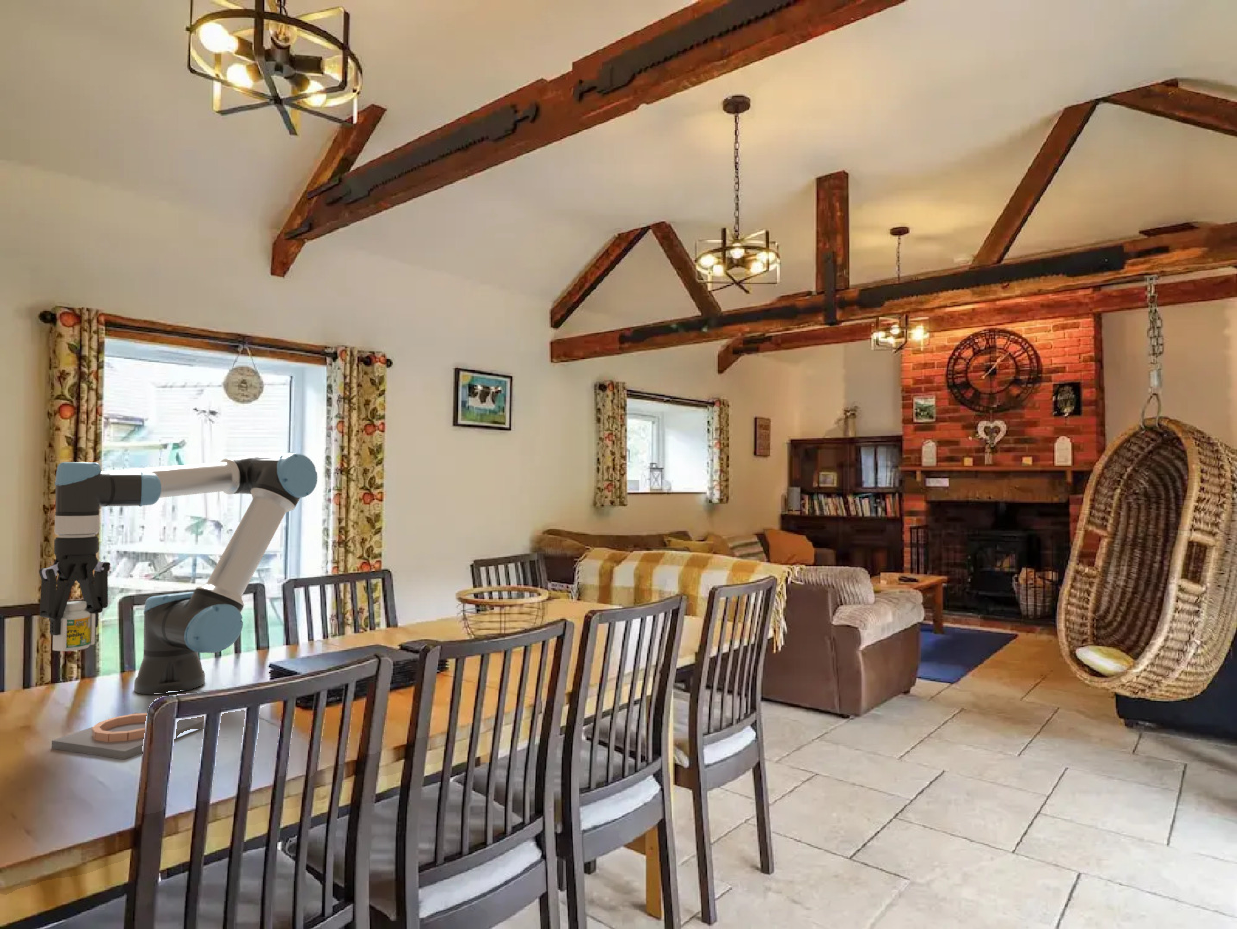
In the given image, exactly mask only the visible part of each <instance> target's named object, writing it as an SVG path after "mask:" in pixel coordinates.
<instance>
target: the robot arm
mask: <svg viewBox="0 0 1237 929" xmlns="http://www.w3.org/2000/svg"><path fill="white" fill-rule="evenodd" d="M316 470H317V469H316V466H315V463H314V462H313V461H312V460H311V459H310V458H309V457H308V456H306V455H305V454H301V453H298V452H297V453H295V452H293V451H292V452H291V451H288V452H287V451H286V452H262V453H261V452H260V453H255V454H250V455H245V456H244V455H243V456H237V457H230V458H224V459H222V460H221V461H220V462H215V463H214V462H212V463H211V462H209V463H199V464H184V465H182V464H181V465H171V466H170V465H167V466H155V467H144V468H143V467H142V468H141V467H140V468H130V469H129V468H128V469H127V468H126V469H115V470H113V469H112V470H102V469H101V464H100V463H98V462H86V461H85V462H80V461H78V462H77V461H76V462H75V461H64V462H61V463H59V464H58V465H57V467H56V472H55V473H56V474H55V482H54V486H55V513H54V534H55V535H56V536H57V537H55V538H54V539H53V540H54V541H53V554H54V555H55V560H54V562H53V565H51V566H49V567H45V568H43V567H42V568H40V569H39V570H38V572H39V576H40V579H41V581H40V582H41V583H40V584H41V586H40V600H39V601H40V602H39V614H38V615H39V617H41V618H46V619H49V634H50V635H51V636H52V651H55V652H56V651H57V652H67V651H66V637H67V619H66V618H63V615H64V611H65V608H66V605H67V602H69V601H68V600H69V597H70V593H71V590H72V587H73V586H75V583H76V582H77V583H78V584H79V587H80V590H81V591H80V592H81V595H82V599H83V600H82V601H86V606H87V607H86V609H85V611H88V612H89V613H90V646H93V645H95V644H96V643H95V642H96V628H97V627H98V626H99V614H100V613H102V612H103V611H104V609H106V608H108V606H109V590H108V589H109V580H108V578H109V575H108V574H109V572H110V571H109V570H110V567H111V563H110V562H107V561H99V560H98V557H97V554H98V552H99V539H100V538H99V537H98V536H97V534H98V533H100V508H101V507H105V508H106V507H136V506H137V507H142V506H143V507H144V506H152V505H155V504H156V503H157V502H158V501H159V499H160V498H169V497H170V498H171V497H180V496H181V497H182V496H190V495H199V494H200V495H202V494H207V493H208V494H209V493H220V492H223V493H224V494H227V495H234V494H235V495H238V494H241V495H242V494H245V495H251V496H252V500H251V502H250V504H249V506H248V507H247V509H246V511H245V513H244V515H243V516H242V519H241V520H240V522H239V524H238V526H237V527H236V529H235V531H234V533H233V535H232V536H231V538H230V540H229V542H228V543H227V545H226V547H225V549H224V551H223V553H222V555H221V556H220V558H219V560H218V562H217V563H216V566H214V569H213V571H212V573H211V574H210V576H209V579H208V580H207V582H206V583H205V584H202V585H200V586H197V587H195V589H194V591H187V592H178V593H177V592H176V593H168V594H161V595H153V596H150V597H148V598H147V599H146V600H145V602H144V609H143V658H142V661H141V664H140V667H139V670H138V673H137V676H136V677H135V678H134V683H133V684H134V686H133V690H134V692H135V693H138V694H140V695H141V694H142V695H155V694H154V693H166V692H168V691H180V690H187V691H190V690H193V688H194V689H197V688H199V687H198V686H200V687H201V686H203V685H204V684H205V683H206V673H205V671H204V670H203V664H202V661H201V659H200V655H199V653H201V654H202V653H203V654H206V653H207V654H215V653H218V652H219V653H220V652H221V651H225V650H226V649H228V648H230V647H231V646H232V645H233V644H235V642H236V641H237V640H238V638H239V636H240V635H241V633H242V631H243V626H244V621H243V620H242V619H243V615H242V610H243V608H244V607H245V604H244V600H243V599H242V598H243V594H244V593H245V591H246V589H247V587H248V585H249V583H250V582H251V579H252V577H253V575H254V574H255V572H256V570H257V568H258V566H259V564H260V562H261V560H262V559H263V557H264V555H265V552H266V551H267V549H268V548H269V545H270V543H271V541H272V540H273V538H274V535H275V534H276V532H277V530H278V528H279V526H280V525H281V523H282V520H283V519H284V516H285V514H286V513H288V512H291V511H294V510H296V509H295V508H296V506H297V504H298V503H299V501H300V499H301V498H305V497H307V496H309V495H311V494H312V493H313V492H314V490H315V488H316V486H317V483H318V472H317V471H316ZM93 571H94V573H93ZM202 684H203V685H202ZM196 687H197V688H196Z"/></svg>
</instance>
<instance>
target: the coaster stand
mask: <svg viewBox="0 0 1237 929" xmlns="http://www.w3.org/2000/svg"><path fill="white" fill-rule="evenodd" d="M147 713H148V712H144V713H142V712H133V713H130V714H126V715H120V716H115V717H112V718H108V719H105V720H102V721H99V722H98V723H96V724H95V725H94V726H91V727H87V728H86V729H83V730H79V731H76V732H74V733H71V734H67V735H64V736H61V737H59V738H55V739H53V740H51V749H53V750H59V751H64V752H65V751H66V752H72V751H73V752H74V753H81V754H86V755H93V756H101V757H107V758H113V759H117V760H118V759H119V760H126V759H129V758H132V757H135V756H137V755H139V754H140V755H141V754H142V753H143V752H142V746H143V739H144V733H145V721H146V716H147ZM184 719H185V720H179V721H178V722H177V729H176V739H175V740H177V739H178V738H177V736H178V735H179V734H180V733H183V732H184V731H187V730H190V729H199V730H198V731H200V730H202V729H204V728H203V727H204V721H203V720H199V719H188V718H184ZM200 728H201V729H200Z"/></svg>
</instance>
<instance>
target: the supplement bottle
mask: <svg viewBox="0 0 1237 929" xmlns="http://www.w3.org/2000/svg"><path fill="white" fill-rule="evenodd" d="M86 607H87V606H86V601H84V600H76V601H67V605H66V608H65V611H64V615H63V618H66V619H67V637H66V651H65V652H74V651H81V650H86V649H87V648H89V647H90V646H91V645H90V613H89V612H88V611H86Z"/></svg>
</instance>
